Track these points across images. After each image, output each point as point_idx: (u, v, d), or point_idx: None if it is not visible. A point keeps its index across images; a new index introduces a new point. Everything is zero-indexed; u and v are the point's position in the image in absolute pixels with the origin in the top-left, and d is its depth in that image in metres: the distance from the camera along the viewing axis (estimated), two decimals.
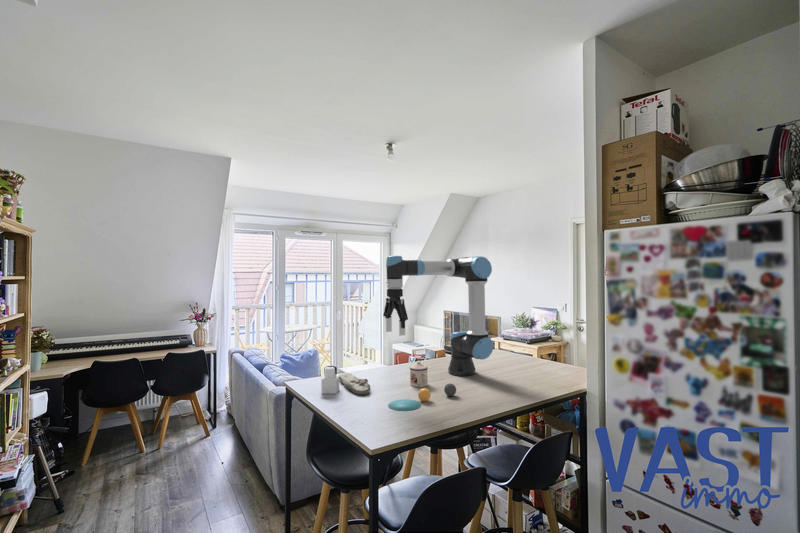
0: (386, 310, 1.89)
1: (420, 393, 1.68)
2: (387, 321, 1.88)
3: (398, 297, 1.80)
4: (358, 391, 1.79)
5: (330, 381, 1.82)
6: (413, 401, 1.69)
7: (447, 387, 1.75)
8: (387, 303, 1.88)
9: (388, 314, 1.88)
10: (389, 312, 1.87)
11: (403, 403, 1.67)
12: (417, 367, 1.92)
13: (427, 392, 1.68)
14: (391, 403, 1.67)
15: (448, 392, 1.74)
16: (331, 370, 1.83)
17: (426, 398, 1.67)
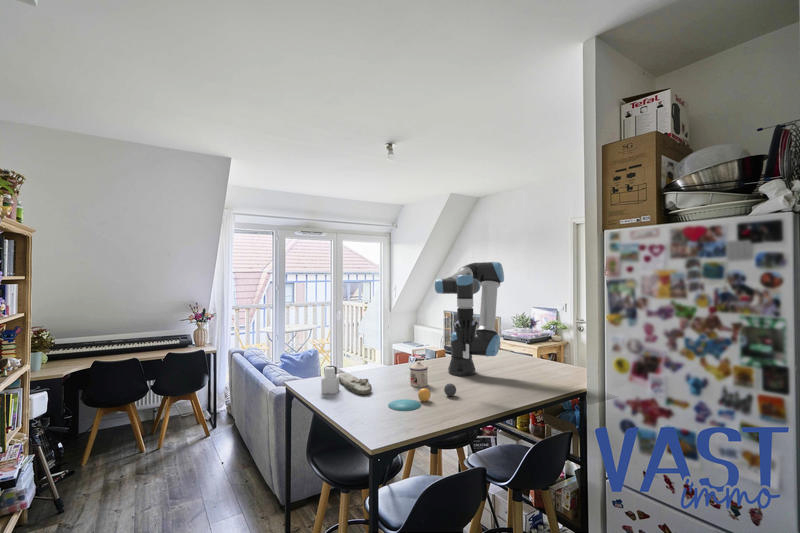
0: (470, 333, 1.84)
1: (420, 393, 1.68)
2: None
3: None
4: (360, 391, 1.79)
5: (330, 381, 1.82)
6: (413, 401, 1.69)
7: (447, 387, 1.75)
8: (471, 325, 1.85)
9: (466, 337, 1.82)
10: (466, 334, 1.82)
11: (403, 403, 1.67)
12: (417, 367, 1.92)
13: (427, 392, 1.68)
14: (391, 403, 1.67)
15: (448, 392, 1.74)
16: (331, 370, 1.83)
17: (426, 398, 1.67)
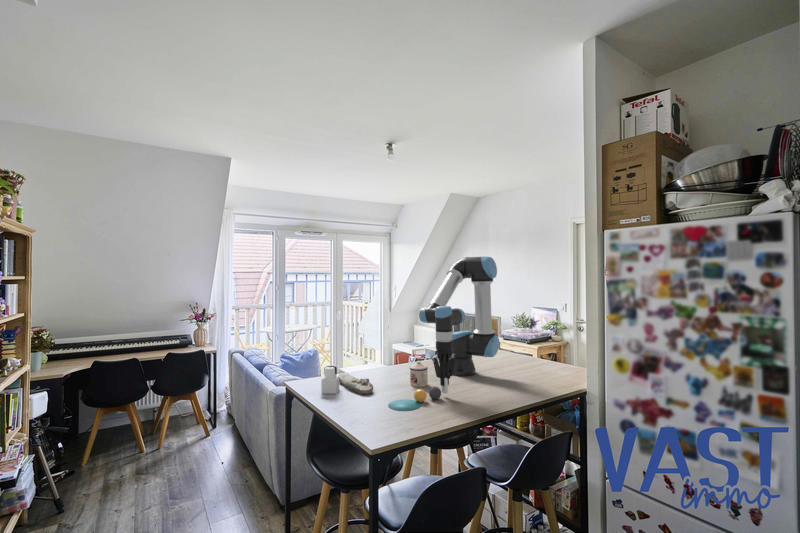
0: (449, 367, 1.78)
1: (416, 398, 1.67)
2: None
3: None
4: (362, 391, 1.79)
5: (330, 381, 1.82)
6: (413, 401, 1.69)
7: None
8: (450, 358, 1.78)
9: None
10: (445, 368, 1.76)
11: (403, 403, 1.67)
12: (417, 367, 1.92)
13: (421, 394, 1.67)
14: (391, 403, 1.67)
15: None
16: (331, 370, 1.83)
17: (423, 399, 1.67)
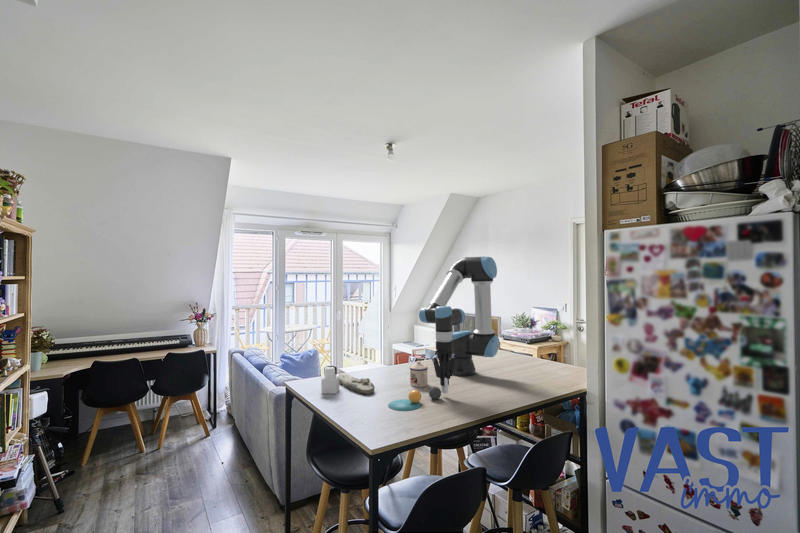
0: (449, 367, 1.78)
1: None
2: None
3: None
4: (364, 390, 1.80)
5: (330, 381, 1.82)
6: None
7: None
8: (450, 358, 1.78)
9: None
10: (445, 368, 1.76)
11: (403, 403, 1.67)
12: (417, 367, 1.92)
13: (414, 398, 1.65)
14: (391, 403, 1.67)
15: None
16: (331, 370, 1.83)
17: (419, 398, 1.66)
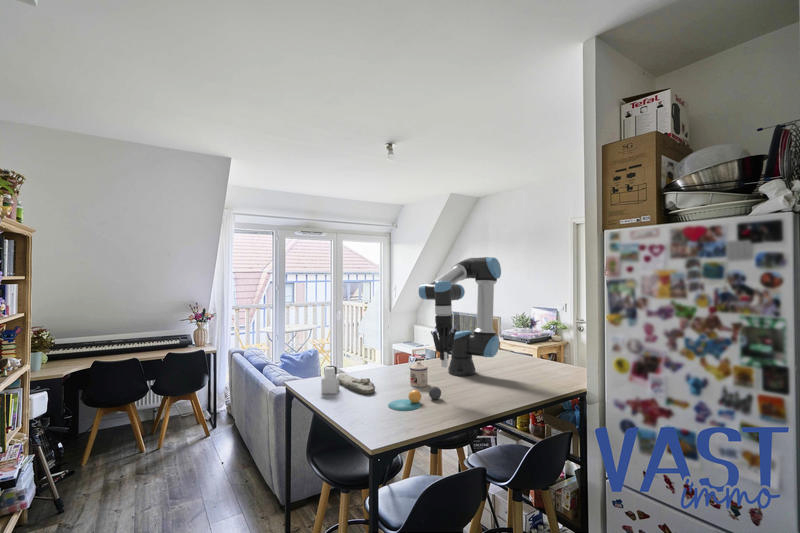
0: None
1: None
2: None
3: None
4: (365, 390, 1.80)
5: (330, 381, 1.82)
6: None
7: None
8: (450, 333, 1.79)
9: (444, 345, 1.76)
10: (444, 343, 1.76)
11: (403, 403, 1.67)
12: (417, 367, 1.92)
13: (414, 398, 1.65)
14: (391, 403, 1.67)
15: None
16: (331, 370, 1.83)
17: (419, 398, 1.66)
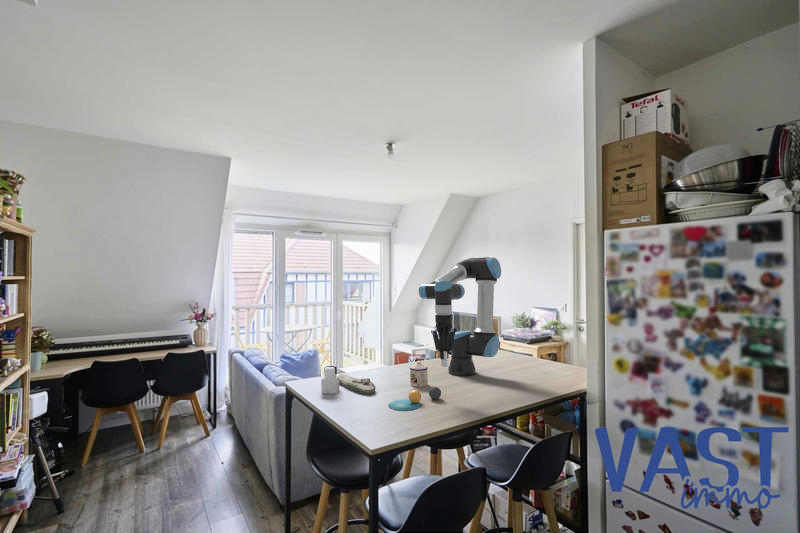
0: None
1: None
2: None
3: None
4: (365, 390, 1.80)
5: (330, 381, 1.82)
6: None
7: None
8: (450, 332, 1.79)
9: (444, 345, 1.76)
10: (444, 342, 1.76)
11: (403, 403, 1.67)
12: (417, 367, 1.92)
13: (414, 398, 1.65)
14: (391, 403, 1.67)
15: None
16: (331, 370, 1.83)
17: (419, 398, 1.66)
